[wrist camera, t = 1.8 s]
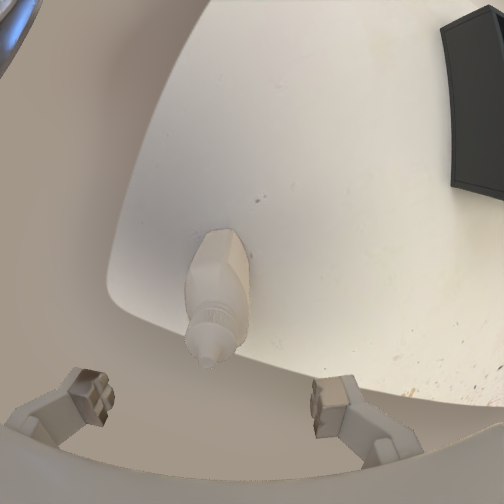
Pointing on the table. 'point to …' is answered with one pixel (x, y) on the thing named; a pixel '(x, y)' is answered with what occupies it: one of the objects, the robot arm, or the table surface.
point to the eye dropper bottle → (217, 298)
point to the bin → (477, 100)
